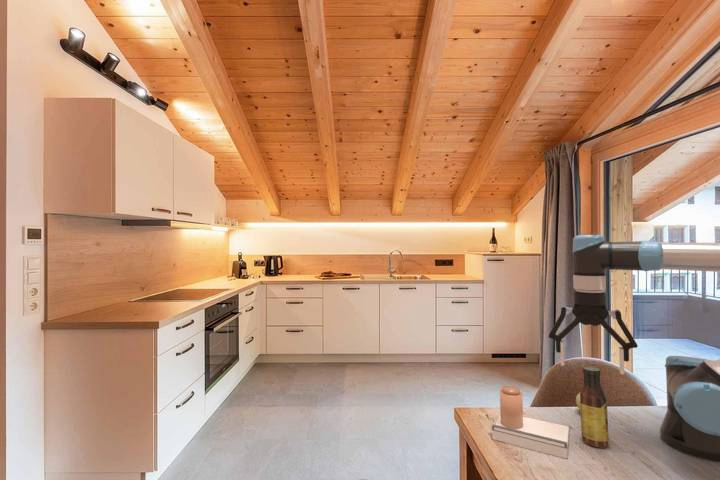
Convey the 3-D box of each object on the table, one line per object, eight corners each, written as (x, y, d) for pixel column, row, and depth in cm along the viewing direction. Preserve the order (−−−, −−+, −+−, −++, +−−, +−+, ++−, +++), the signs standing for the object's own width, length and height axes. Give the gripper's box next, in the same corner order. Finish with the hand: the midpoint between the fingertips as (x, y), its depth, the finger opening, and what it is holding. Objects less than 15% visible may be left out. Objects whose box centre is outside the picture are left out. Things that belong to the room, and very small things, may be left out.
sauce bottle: (613, 450, 93) (611, 373, 93) (587, 448, 94) (584, 372, 95) (601, 437, 99) (599, 365, 100) (577, 435, 100) (575, 364, 101)
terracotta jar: (524, 422, 103) (523, 387, 104) (521, 431, 98) (520, 394, 98) (502, 417, 106) (502, 383, 107) (498, 425, 101) (497, 390, 102)
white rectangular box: (569, 435, 100) (568, 422, 100) (567, 459, 89) (566, 444, 89) (501, 420, 110) (501, 408, 110) (492, 439, 99) (492, 425, 99)
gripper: (645, 292, 94) (647, 372, 94) (540, 287, 108) (541, 357, 107) (649, 295, 88) (651, 381, 87) (537, 289, 101) (539, 364, 101)
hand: (591, 368), depth 97 cm, fingers open, 13 cm apart
